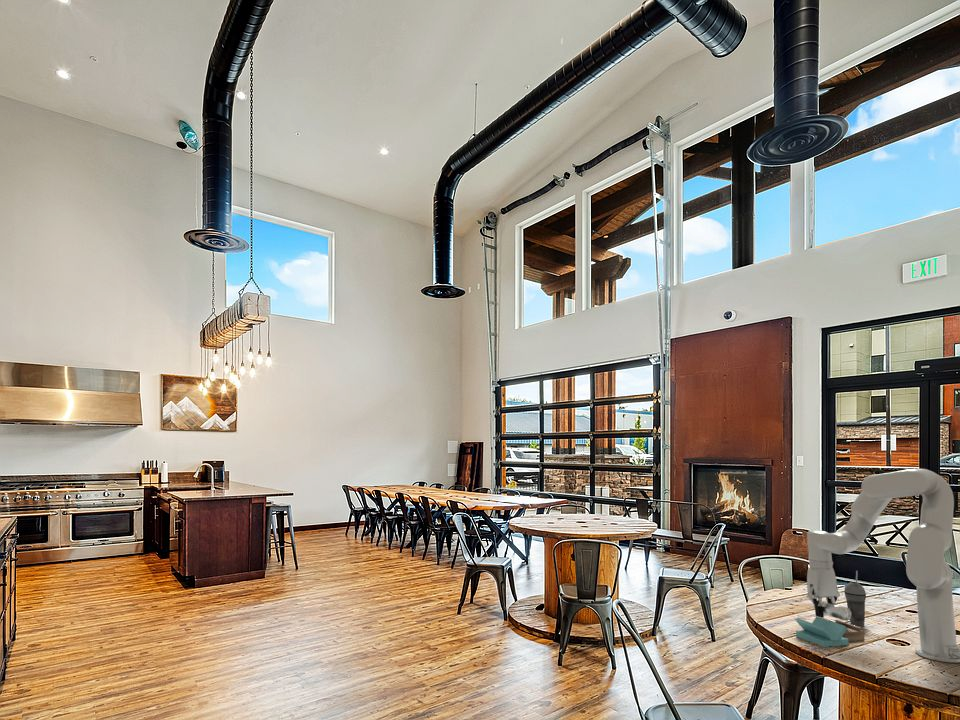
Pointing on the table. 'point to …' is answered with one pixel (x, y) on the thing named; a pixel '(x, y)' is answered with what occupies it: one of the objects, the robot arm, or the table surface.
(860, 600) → the beverage cup
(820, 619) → the v block
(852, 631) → the tan stepped block
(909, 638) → the table surface
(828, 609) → the axle
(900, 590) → the table surface
